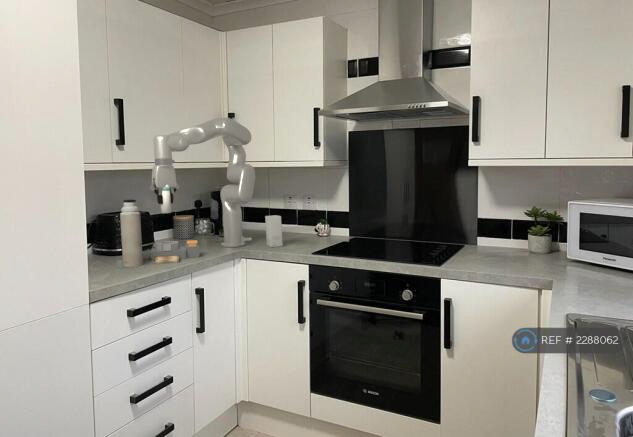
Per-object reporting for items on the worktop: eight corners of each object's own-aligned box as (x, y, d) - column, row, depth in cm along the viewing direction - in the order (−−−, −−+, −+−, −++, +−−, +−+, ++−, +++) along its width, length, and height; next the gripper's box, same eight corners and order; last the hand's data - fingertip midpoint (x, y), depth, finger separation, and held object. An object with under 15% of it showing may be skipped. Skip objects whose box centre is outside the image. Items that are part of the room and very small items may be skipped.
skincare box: (282, 246, 258) (282, 216, 256) (270, 247, 255) (269, 216, 254) (277, 244, 266) (277, 214, 264) (265, 245, 263) (264, 215, 261)
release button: (197, 253, 237) (197, 240, 237) (197, 255, 233) (197, 241, 232) (187, 254, 236) (186, 240, 235) (187, 255, 232) (186, 242, 231)
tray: (179, 259, 228) (179, 255, 228) (179, 262, 221) (178, 258, 221) (156, 260, 226) (155, 257, 226) (155, 263, 219) (154, 260, 218)
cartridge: (173, 212, 230) (172, 183, 228) (163, 213, 226) (162, 184, 225) (167, 211, 233) (166, 183, 232) (158, 212, 230) (156, 183, 229)
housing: (199, 254, 240) (198, 239, 239) (199, 257, 231) (199, 242, 230) (152, 256, 235) (151, 241, 234) (151, 260, 225) (150, 245, 225)
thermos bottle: (119, 265, 216) (115, 199, 213) (136, 262, 222) (132, 198, 219) (129, 267, 211) (125, 200, 208) (146, 264, 217) (143, 199, 214)
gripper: (176, 162, 236) (178, 201, 238) (141, 163, 224) (144, 204, 226) (184, 162, 230) (186, 202, 232) (149, 163, 218) (152, 205, 221)
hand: (165, 203), depth 229 cm, fingers closed on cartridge, 4 cm apart
